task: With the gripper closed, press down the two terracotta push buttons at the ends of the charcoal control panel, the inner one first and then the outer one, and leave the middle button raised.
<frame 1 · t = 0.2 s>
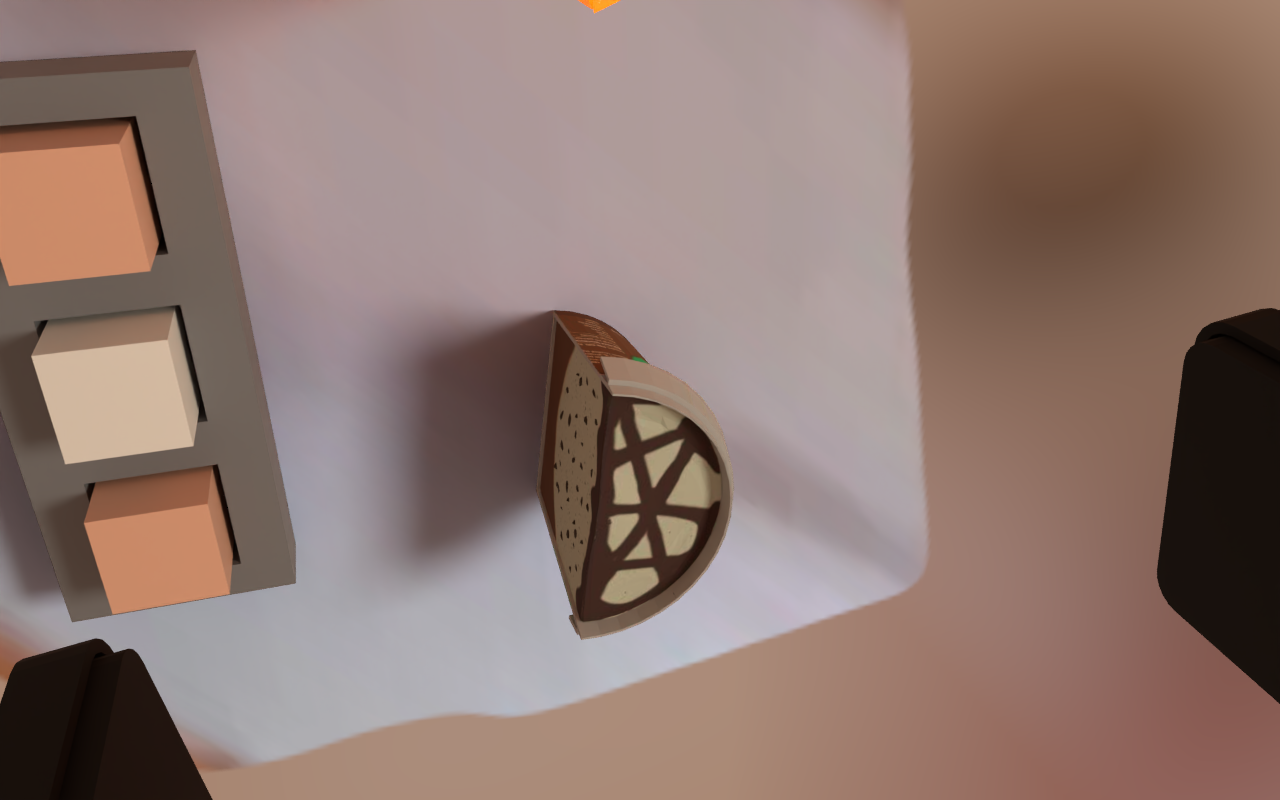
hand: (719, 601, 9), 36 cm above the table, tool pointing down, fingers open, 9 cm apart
outer button: (164, 531, 44), point 3 cm above the table, slide at 0.0 cm
inner button: (73, 197, 37), point 3 cm above the table, slide at 0.0 cm
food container: (607, 400, 51), on the table
control panel: (134, 340, 43), on the table
middle button: (123, 378, 40), point 3 cm above the table, slide at 0.0 cm
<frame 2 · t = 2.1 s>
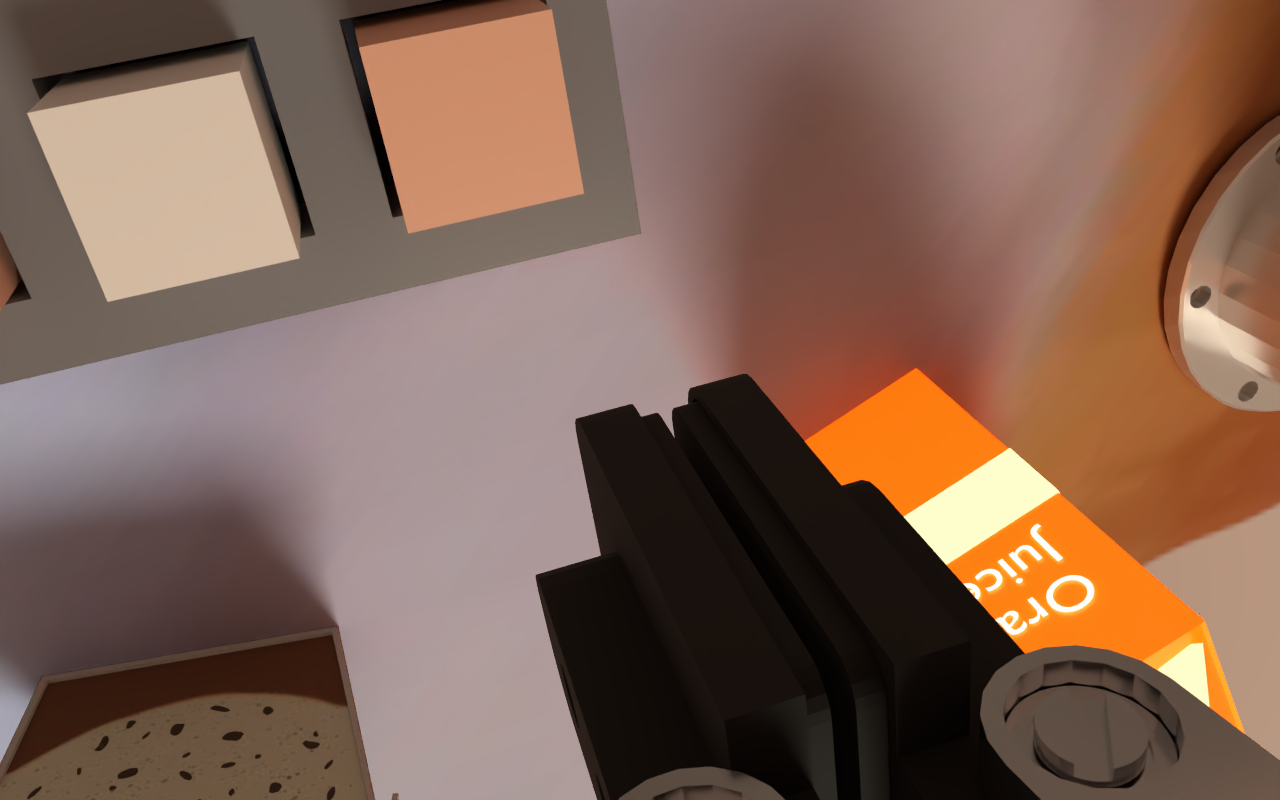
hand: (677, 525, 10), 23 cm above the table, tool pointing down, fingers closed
orange juice: (870, 502, 41), on the table
inner button: (467, 106, 27), point 3 cm above the table, slide at 0.0 cm
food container: (212, 715, 38), on the table
control panel: (193, 132, 29), on the table
middle button: (180, 166, 26), point 3 cm above the table, slide at 0.0 cm
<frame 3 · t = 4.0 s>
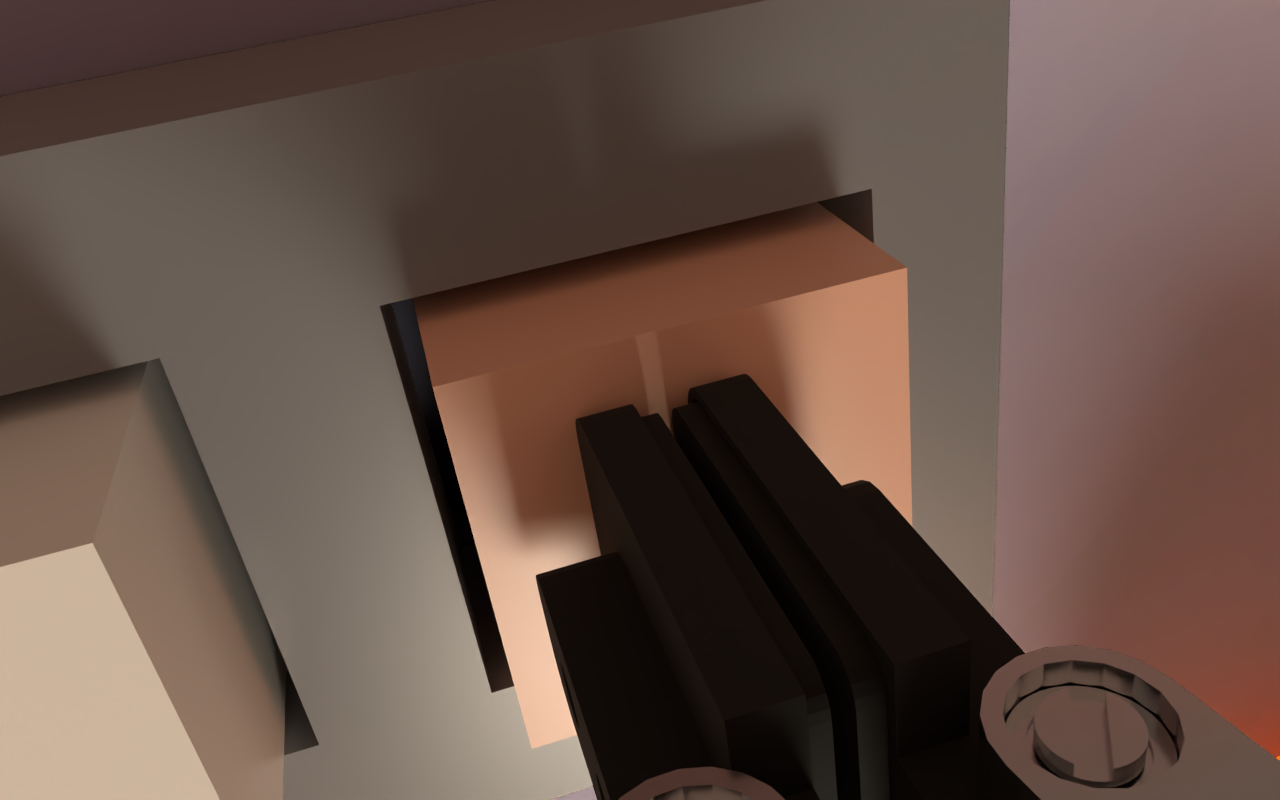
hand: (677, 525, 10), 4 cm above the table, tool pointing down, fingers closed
inner button: (651, 428, 12), point 2 cm above the table, slide at 1.1 cm, touching gripper
control panel: (52, 485, 13), on the table
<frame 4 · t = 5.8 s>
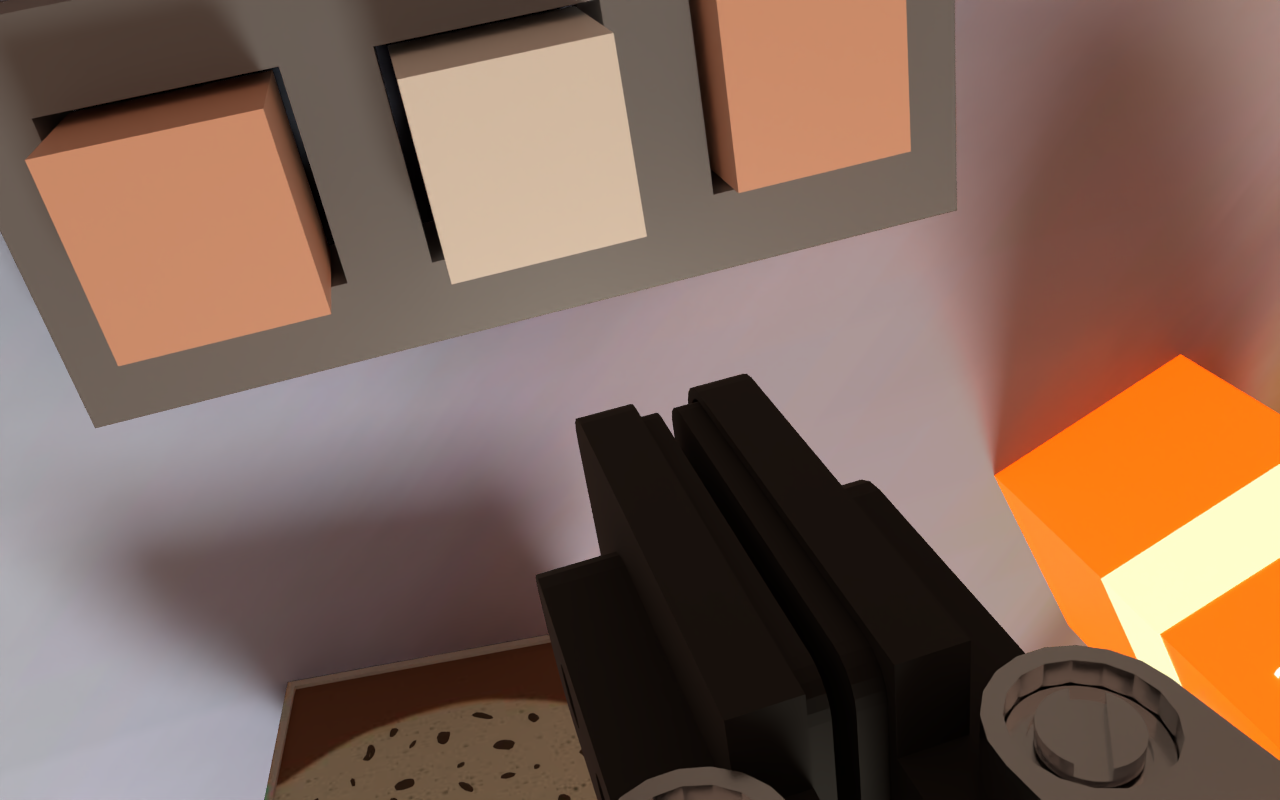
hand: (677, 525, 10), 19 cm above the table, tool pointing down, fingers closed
orange juice: (1116, 496, 39), on the table
outer button: (198, 212, 23), point 3 cm above the table, slide at 0.0 cm
inner button: (786, 63, 26), point 2 cm above the table, slide at 1.3 cm
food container: (448, 721, 36), on the table
control panel: (495, 107, 27), on the table
middle button: (515, 139, 24), point 3 cm above the table, slide at 0.0 cm
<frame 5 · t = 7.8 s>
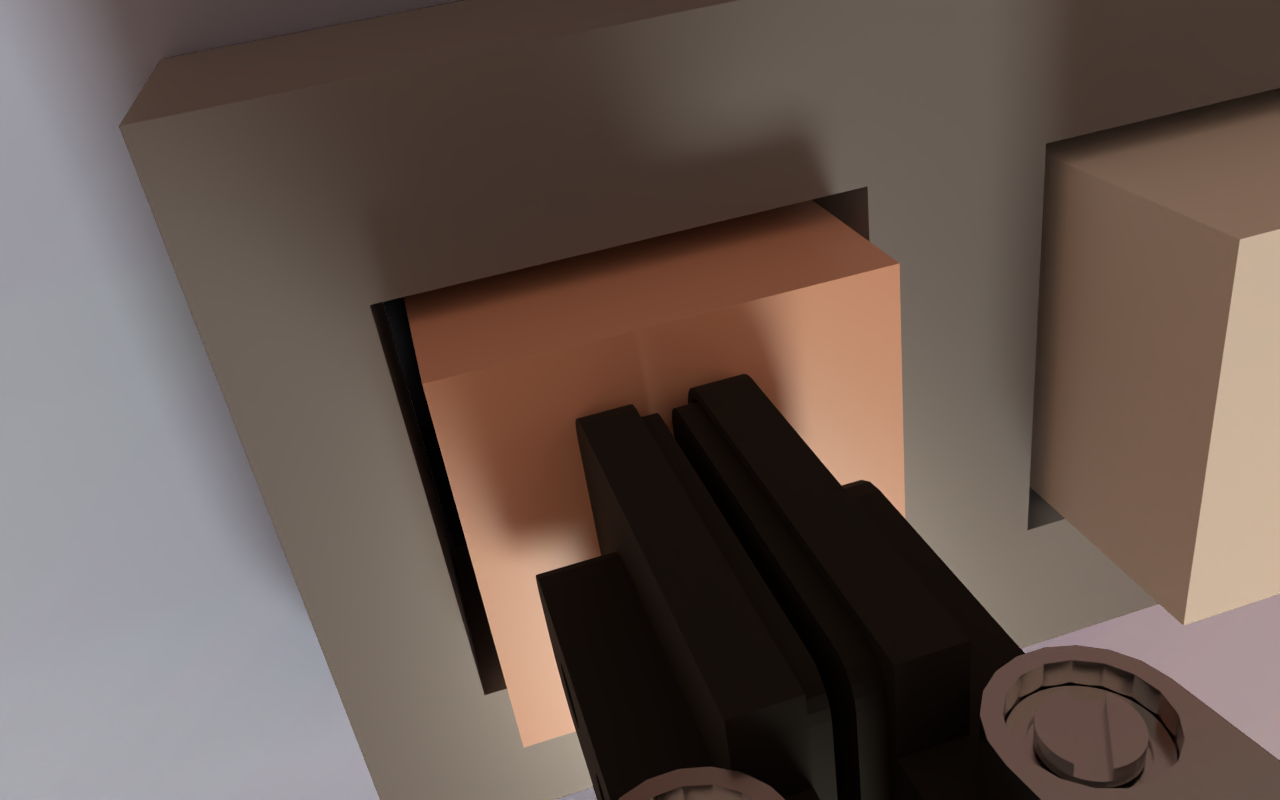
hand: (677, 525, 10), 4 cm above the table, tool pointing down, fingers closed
outer button: (643, 426, 12), point 2 cm above the table, slide at 1.2 cm, touching gripper
control panel: (1070, 225, 15), on the table
middle button: (1249, 317, 12), point 3 cm above the table, slide at 0.0 cm
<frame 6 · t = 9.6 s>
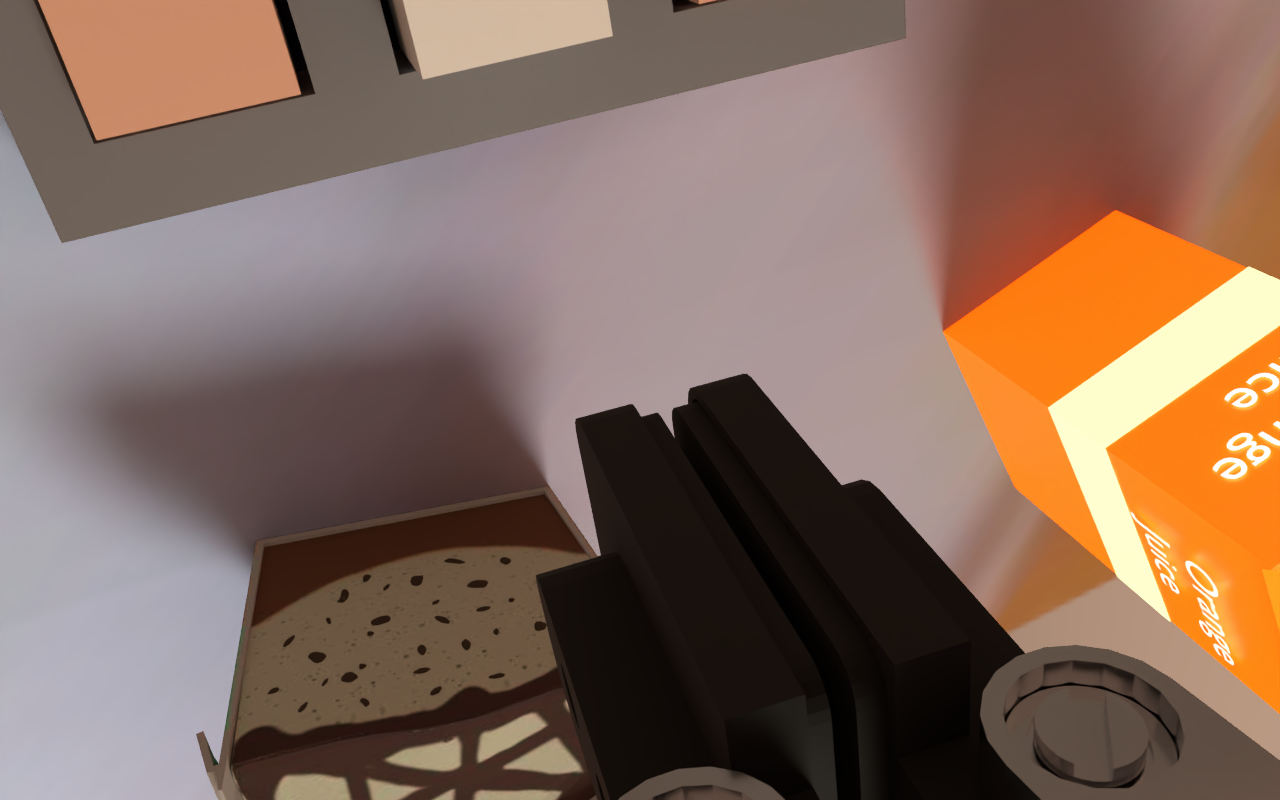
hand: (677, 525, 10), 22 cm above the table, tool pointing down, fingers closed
orange juice: (1058, 355, 41), on the table
outer button: (168, 0, 24), point 2 cm above the table, slide at 1.3 cm
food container: (417, 584, 36), on the table
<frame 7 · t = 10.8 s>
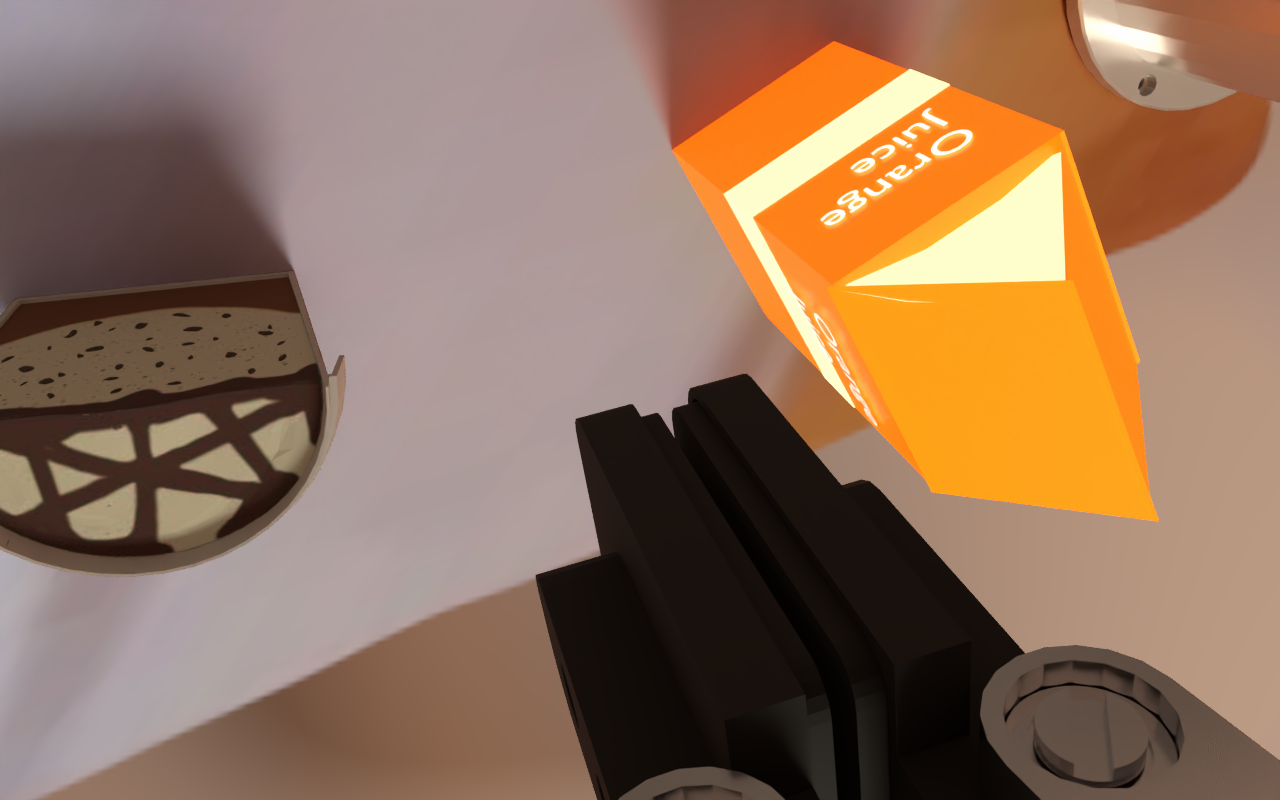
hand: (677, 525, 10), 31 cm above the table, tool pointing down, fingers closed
orange juice: (795, 185, 44), on the table
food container: (176, 359, 40), on the table
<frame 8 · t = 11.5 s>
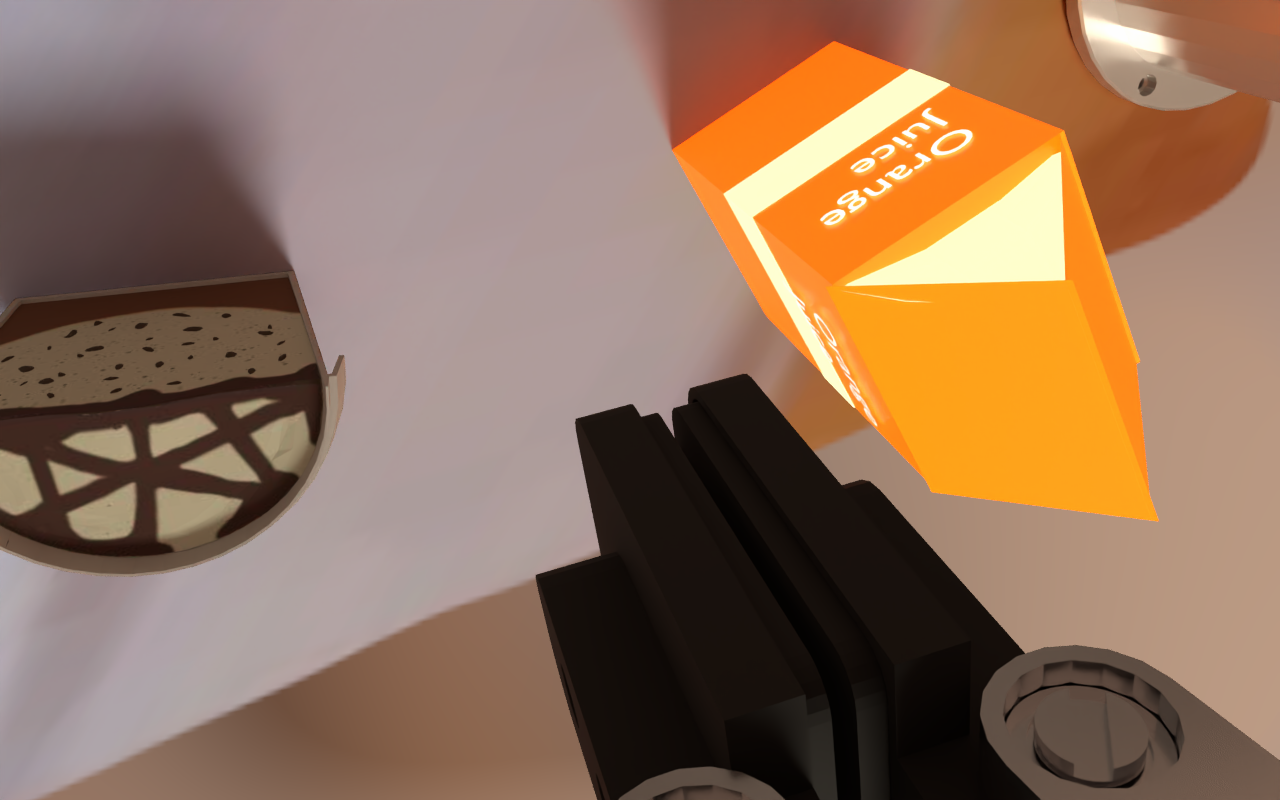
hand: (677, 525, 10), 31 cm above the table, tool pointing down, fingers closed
orange juice: (795, 185, 44), on the table
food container: (176, 359, 40), on the table
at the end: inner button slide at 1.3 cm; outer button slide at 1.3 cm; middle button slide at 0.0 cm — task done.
